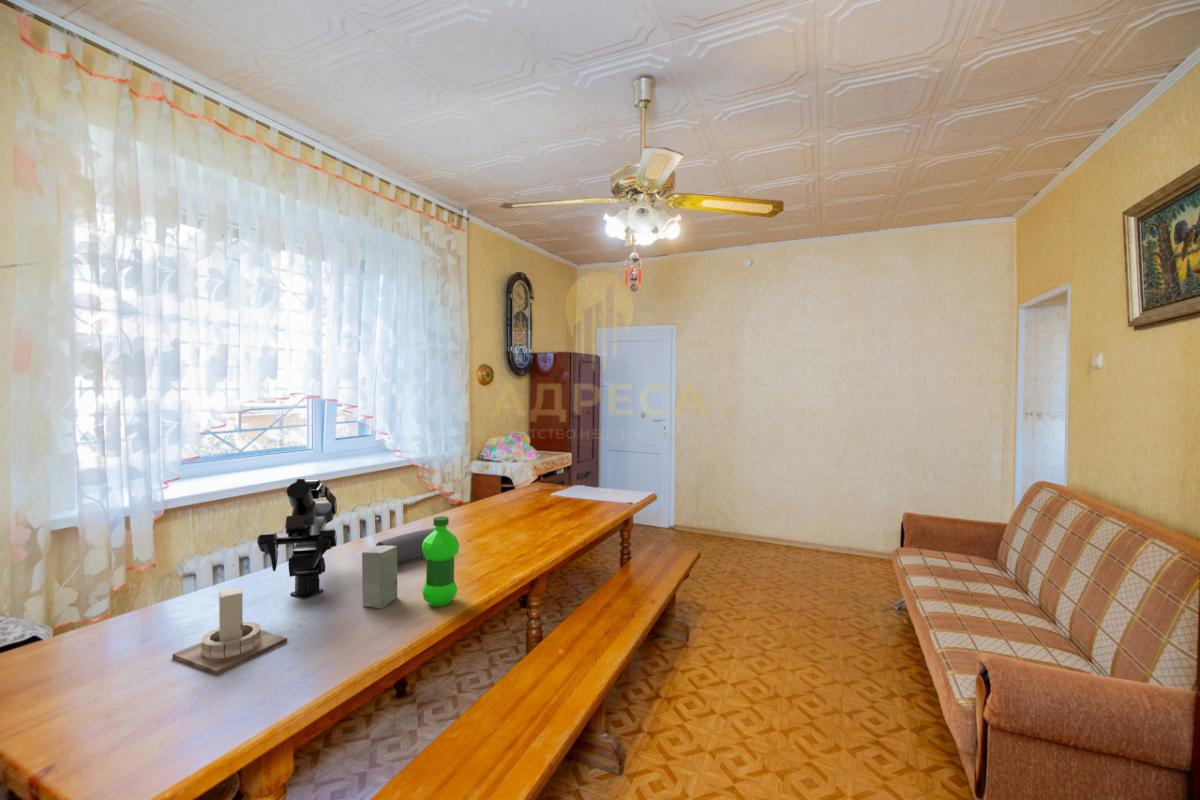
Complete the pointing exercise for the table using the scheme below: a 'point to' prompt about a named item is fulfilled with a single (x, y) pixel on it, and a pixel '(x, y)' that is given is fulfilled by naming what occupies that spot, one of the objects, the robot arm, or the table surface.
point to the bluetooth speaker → (408, 545)
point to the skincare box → (379, 576)
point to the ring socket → (228, 649)
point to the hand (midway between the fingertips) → (293, 568)
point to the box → (230, 614)
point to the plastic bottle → (440, 564)
